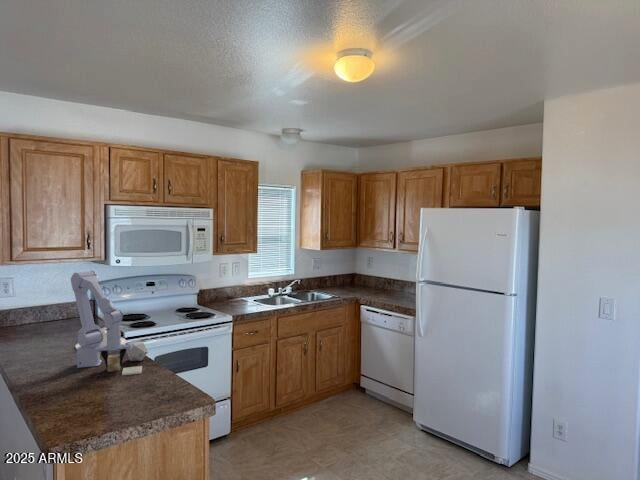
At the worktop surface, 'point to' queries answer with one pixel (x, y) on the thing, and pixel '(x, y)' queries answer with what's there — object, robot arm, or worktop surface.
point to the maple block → (113, 363)
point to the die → (137, 352)
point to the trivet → (132, 370)
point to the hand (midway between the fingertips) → (114, 366)
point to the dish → (104, 339)
